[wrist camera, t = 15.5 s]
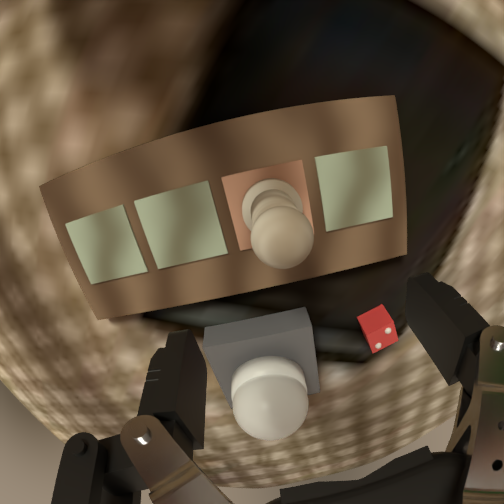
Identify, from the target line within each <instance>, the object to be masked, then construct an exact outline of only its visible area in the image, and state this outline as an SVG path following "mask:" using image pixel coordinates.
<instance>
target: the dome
mask: <svg viewBox="0 0 504 504" xmlns="http://www.w3.org/2000/svg"><path fill="white" fill-rule="evenodd" d="M231 398H232V402H233V413H234V416H235V419H236V421H237V423H238V424H239V426H240V427H241V428H242V429H243V430H244V431H245V432H246V433H248V434H249V435H251V436H253V437H255V438H258V439H262V440H279V439H282V438H285V437H287V436H289V435H291V434H293V433H294V432H295V431H296V430H298V428H299V427H300V426H301V425H302V424H303V422H304V420H305V418H306V416H307V412H308V406H309V402H308V396H307V386H306V382H305V378H304V373H303V370H302V368H301V367H300V366H299V365H298V364H297V363H296V362H294V361H292V360H290V359H288V358H284V357H279V356H264V357H259V358H255V359H252V360H249V361H247V362H245V363H244V364H242V365H241V366H239V367H238V368H237V369H236V371H235V372H234V374H233V376H232V380H231Z"/></svg>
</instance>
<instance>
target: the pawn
mask: <svg viewBox="0 0 504 504" xmlns="http://www.w3.org/2000/svg"><path fill="white" fill-rule="evenodd" d="M242 215H243V219H244V222H245V224H246V226H247V227H248V228H249V230H250V231H251V245H252V248H253V250H254V253H255V254H256V256H257V257H258V258H259V259H260V260H261V261H262V262H263V263H265V264H266V265H268V266H270V267H273V268H277V269H288V268H292V267H294V266H297V265H298V264H300V263H301V262H303V261H304V260H305V259H306V257H307V256H308V255H309V253H310V251H311V249H312V246H313V242H314V233H313V228H312V226H311V223H310V222H309V220H308V218H307V217H306V216H305V215H304V214H303V205H302V201H301V198H300V196H299V194H298V193H297V192H296V190H295V189H294V188H293V187H292V186H291V185H290V184H289V183H287V182H285V181H283V180H281V179H276V178H267V179H263V180H260V181H258V182H256V183H254V184H253V185H252V186H251V187H250V188H249V189H248V190H247V192H246V193H245V195H244V198H243V201H242Z"/></svg>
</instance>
